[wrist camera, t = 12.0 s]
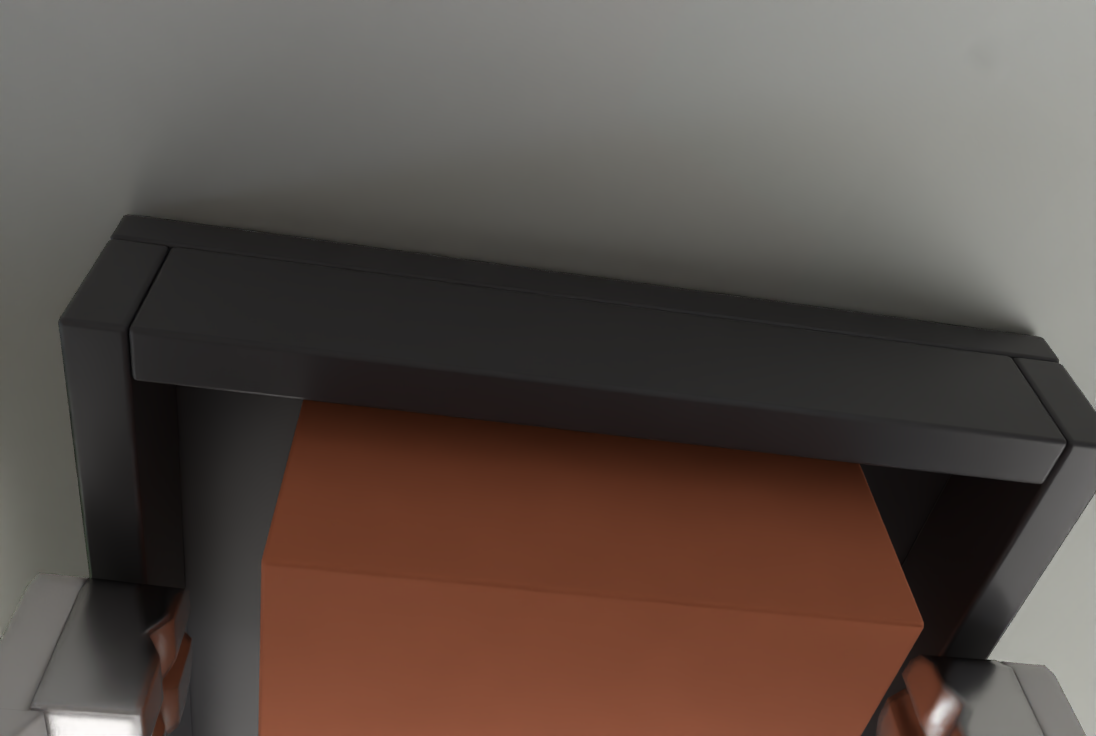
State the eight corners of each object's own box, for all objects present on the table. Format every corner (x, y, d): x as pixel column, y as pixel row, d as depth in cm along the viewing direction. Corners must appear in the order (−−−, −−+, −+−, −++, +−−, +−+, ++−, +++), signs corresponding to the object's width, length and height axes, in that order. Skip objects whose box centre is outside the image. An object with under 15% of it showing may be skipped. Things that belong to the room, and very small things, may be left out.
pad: (843, 419, 12) (927, 625, 10) (725, 688, 15) (768, 900, 12) (313, 354, 11) (260, 561, 9) (298, 652, 14) (254, 868, 12)
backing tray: (1043, 335, 12) (1126, 449, 10) (738, 894, 19) (759, 1011, 18) (123, 212, 11) (54, 319, 9) (171, 860, 18) (138, 983, 16)
